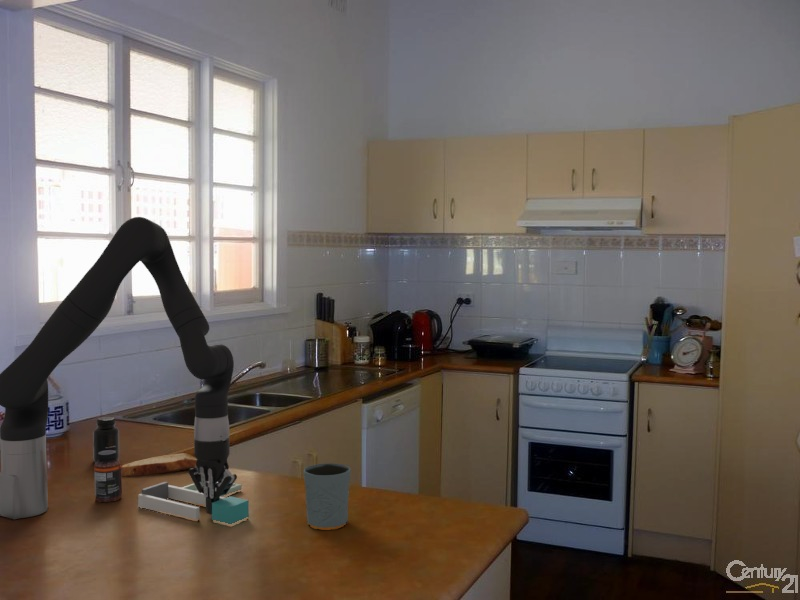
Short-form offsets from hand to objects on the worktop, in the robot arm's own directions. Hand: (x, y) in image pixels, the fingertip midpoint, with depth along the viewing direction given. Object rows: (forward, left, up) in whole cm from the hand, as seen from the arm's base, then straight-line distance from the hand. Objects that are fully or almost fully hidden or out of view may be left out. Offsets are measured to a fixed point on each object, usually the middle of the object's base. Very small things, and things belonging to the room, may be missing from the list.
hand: (212, 513), depth 174 cm
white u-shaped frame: (0, +10, -1) cm, 10 cm away
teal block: (0, -5, -1) cm, 5 cm away
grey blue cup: (+10, -24, -1) cm, 26 cm away
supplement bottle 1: (+18, +59, -1) cm, 62 cm away
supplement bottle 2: (-4, +30, -1) cm, 30 cm away
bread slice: (+20, +39, -1) cm, 44 cm away
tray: (+11, +12, -1) cm, 17 cm away
